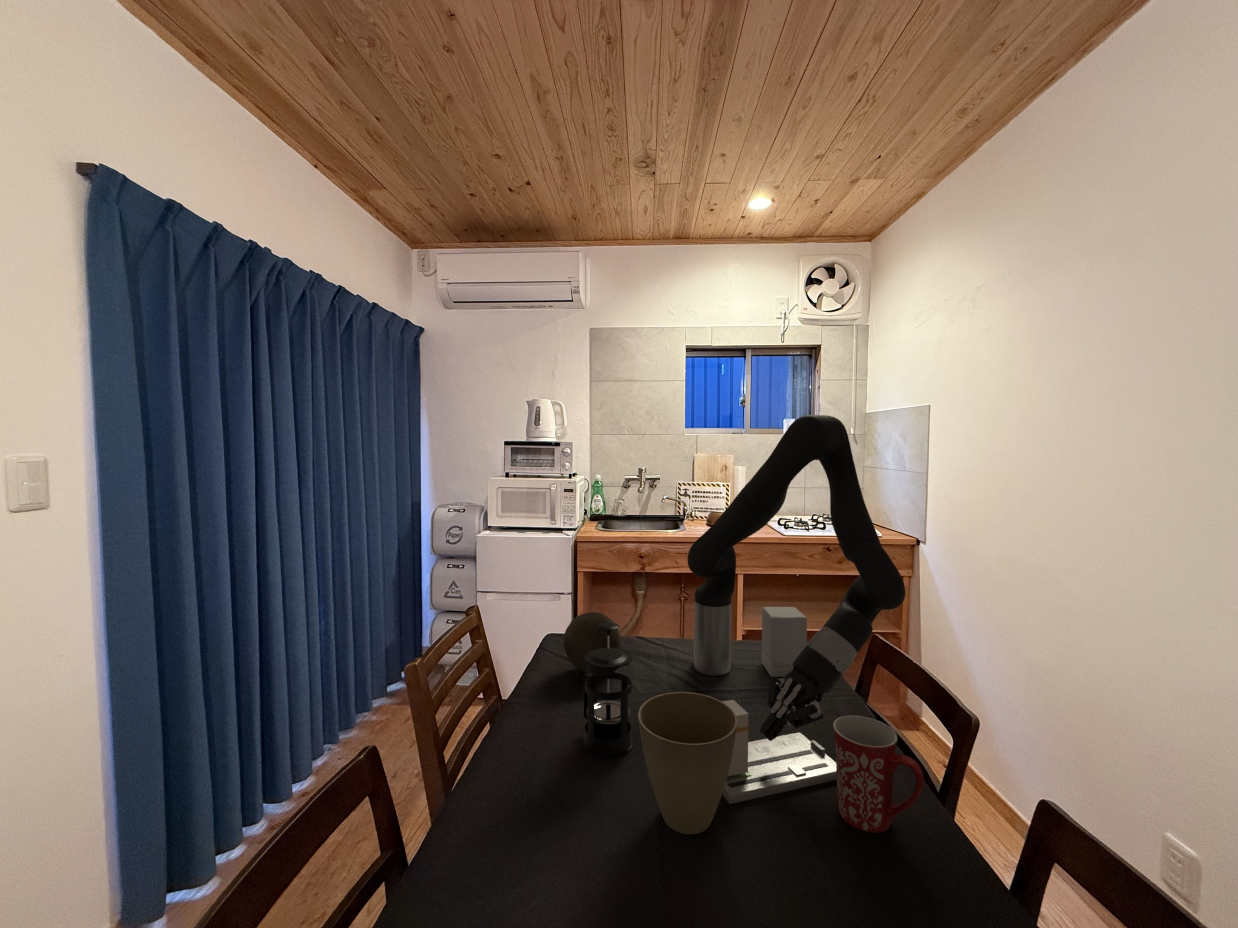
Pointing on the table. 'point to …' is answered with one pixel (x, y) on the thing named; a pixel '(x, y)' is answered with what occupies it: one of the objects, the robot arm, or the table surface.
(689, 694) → the plant pot
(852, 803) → the mug
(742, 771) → the fader knob
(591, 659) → the french press
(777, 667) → the supplement box
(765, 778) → the console
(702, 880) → the table surface
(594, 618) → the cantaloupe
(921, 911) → the table surface
